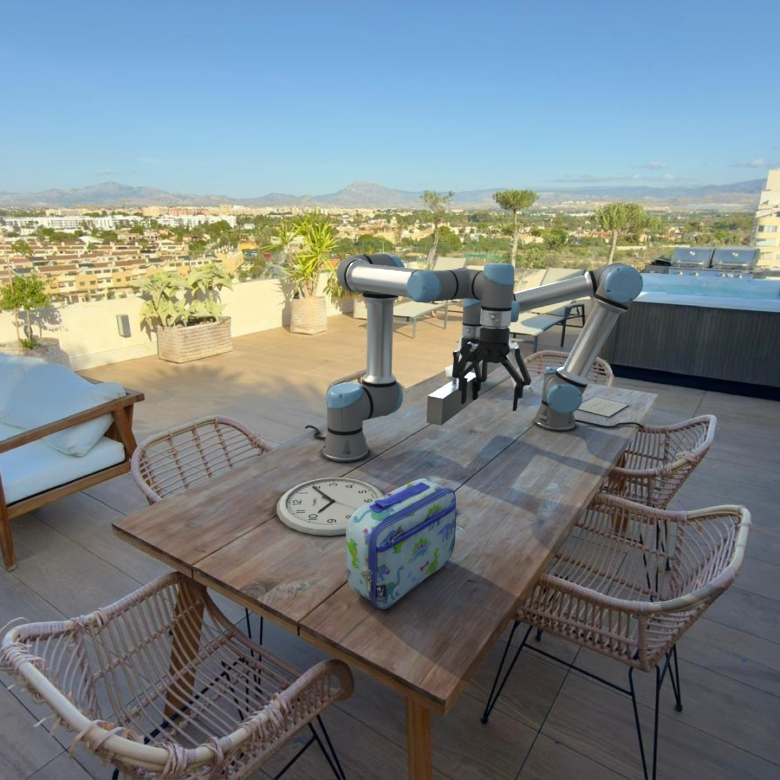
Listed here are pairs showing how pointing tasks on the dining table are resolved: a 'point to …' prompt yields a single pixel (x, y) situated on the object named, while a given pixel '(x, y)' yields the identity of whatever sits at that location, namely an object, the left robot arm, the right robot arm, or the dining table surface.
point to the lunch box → (400, 540)
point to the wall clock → (324, 504)
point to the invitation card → (602, 406)
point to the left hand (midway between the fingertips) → (488, 406)
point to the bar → (449, 400)
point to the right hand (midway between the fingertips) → (467, 397)
